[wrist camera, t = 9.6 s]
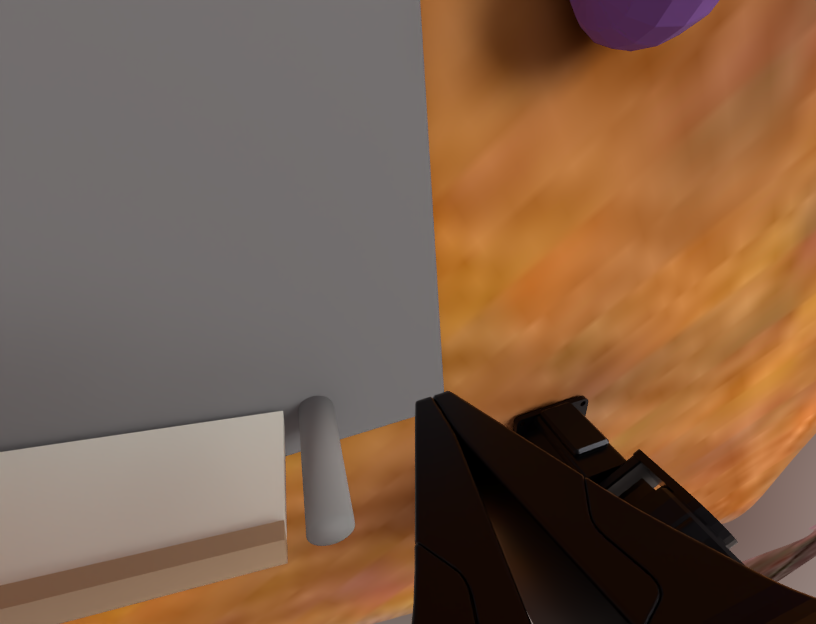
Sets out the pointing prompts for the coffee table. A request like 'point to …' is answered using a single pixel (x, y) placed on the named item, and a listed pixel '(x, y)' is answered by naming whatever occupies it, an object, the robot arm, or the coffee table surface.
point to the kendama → (638, 20)
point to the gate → (139, 516)
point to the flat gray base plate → (216, 224)
